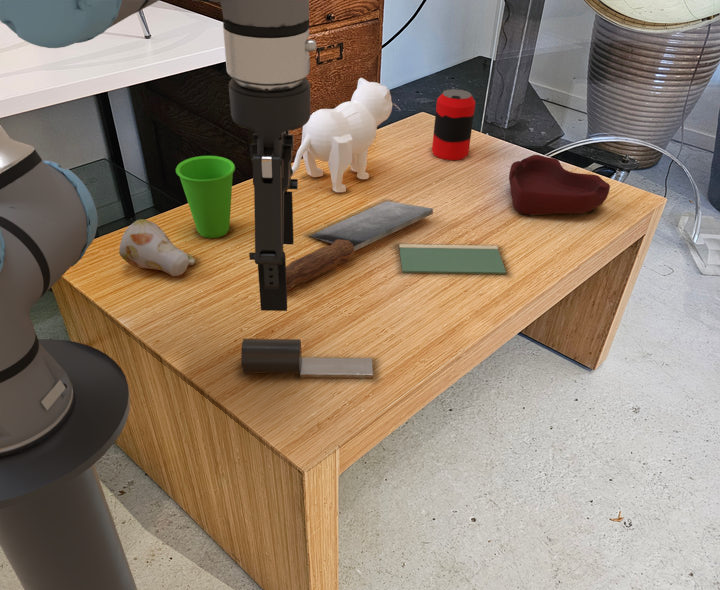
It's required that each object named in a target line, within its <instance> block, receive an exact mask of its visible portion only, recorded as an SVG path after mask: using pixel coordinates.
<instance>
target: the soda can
mask: <svg viewBox="0 0 720 590" xmlns="http://www.w3.org/2000/svg"><path fill="white" fill-rule="evenodd" d="M475 110H476V101H475V99H474V97H473V95H472V93H471V92H469V91H467V90H464V89H456V88H454V89H446V90H443V91H442V93H441V94H440V95H439V96H438V98H437V99H436V108H435V116H434V127H433V135H432V137H433V138H432V145H431V152H432V154H433V155H434V156H435V157H437V158H438V159H442V160H445V161H459V160H463V159H465V158H466V157H467V156H468V155H469V153H470V145H471V139H472V138H471V137H472V132H473V131H472V130H473V124H474V116H475Z"/></svg>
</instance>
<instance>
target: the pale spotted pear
mask: <svg viewBox="0 0 720 590" xmlns="http://www.w3.org/2000/svg"><path fill="white" fill-rule="evenodd" d="M118 253H119V256H120V257H121V258H122V259H123V260H124V261H125V262H126V263H128V264H129V265H131V266H133V267H137V268H142V269H147V270H148V269H149V270H157V271H161V272H164V273H166V274H168V275H170V276H171V277H178V276H181V275H184V273H185V272H186V271H187V268H188V267H189V266H194V265H195V263H196V259H195V258H194V257H193V256H192V255H190V254H188V253H187V252H185V251H184V250H181V249H180V248H178V247H177V246H176V245H175V244H174V243H173V242H172V241H171V239H170V238H169V236H168V235H167V234H166V233H165V231H164V230H163V229H162V228H161V227H160V226H159V225H158V224H156V223H155V222H153V221H150V220H149V219H142V218H141V219H137V220H135V221H134V222H132V223H131V224H130V225H129V226H128V227H127V228H126V229H125V230H124V232H123V234H122V237H121V240H120V244H119V250H118Z"/></svg>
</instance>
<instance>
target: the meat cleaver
mask: <svg viewBox="0 0 720 590" xmlns="http://www.w3.org/2000/svg"><path fill="white" fill-rule="evenodd" d="M433 214H434V208H432V207H425V206H419V205H414V204H408V203H401V202H396V201H390V200H385V201H383V202H381V203H378V204H377V205H375V206H372V207H370V208H368V209H365V210H363V211H361V212H359V213H357V214H355V215H352V216H350V217H348V218H346V219H343V220H341V221H338V222H337V223H334V224H332V225H330V226H327V227H325V228H323V229H321V230H319V231H316V232H314V233H312V234H310V235H309V237H310V238H314V239H317V240H320V241H322V242H325V243H327V244H330V245H326V246H323V247H320V248H318V249H316V250H314V251H312V252H310V253H308V254H306V255H303V256H302V257H299V258H298V259H295V260H293V261H291V262H290V263H289V264H287V265H286V285H287V292H290V291H291V289H293V287H294V286H295V285H302V284H304V283H306V282H308V281H310V280H312V279H314V278H316V277H318V276H320V275H322V274H324V273H326V272H328V271H330V270H331V269H333V268H335V267H337V266H338V265H339V264H345V263H348V262H349V261H350V259H351V258H352V257H353V255H354V253H355V251H357V250H360V249H361V248H364V247H366V246H368V245H370V244H372V243H375V242H377V241H378V240H381V239H383V238H385V237H387V236H389V235H391V234H393V233H395V232H398V231H400V230H402V229H404V228H406V227H408V226H410V225H412V224H414V223H416V222H419V221H421V220H423V219H426V218H427V217H429V216H432V215H433Z"/></svg>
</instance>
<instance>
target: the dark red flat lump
mask: <svg viewBox="0 0 720 590" xmlns="http://www.w3.org/2000/svg"><path fill="white" fill-rule="evenodd" d="M508 182H509V187H510V196H511V197H510V198H511V201H512V207H513V209H514V210H515V211H516V212H517V213H518V214H519V215H522V216H525V217H527V216H529V217H530V216H534V215H535V216H537V215H539V216H540V215H554V214H584V213H593V212H594V211H595V209H597V208H599V207H600V206H601V205H603V204H604V202H605V201H606V200H607V198H608V196H609V193H610V189H611V185H610V183H608V182H606V181H605V180H604V179H603V178H602V177H600V176H599V175H597V174H590V173H579V172H573V171H569V170H567V169H565V168H564V167H563V166H562V164H561V163H560V160H559V159H558V158H554V157H548V156H543V155H540V154H532V155H529V156H528V157H525V158H523V159H521V160H517V161H514V162H513V163H511V166H510V169H509V173H508Z"/></svg>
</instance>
